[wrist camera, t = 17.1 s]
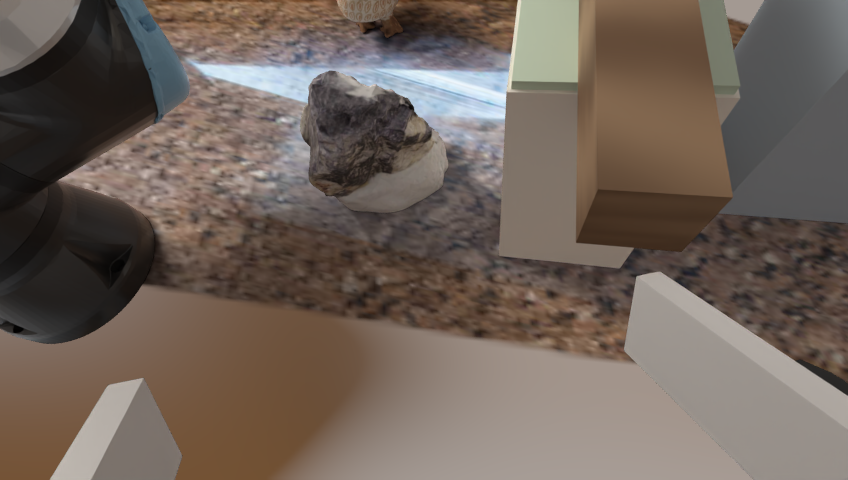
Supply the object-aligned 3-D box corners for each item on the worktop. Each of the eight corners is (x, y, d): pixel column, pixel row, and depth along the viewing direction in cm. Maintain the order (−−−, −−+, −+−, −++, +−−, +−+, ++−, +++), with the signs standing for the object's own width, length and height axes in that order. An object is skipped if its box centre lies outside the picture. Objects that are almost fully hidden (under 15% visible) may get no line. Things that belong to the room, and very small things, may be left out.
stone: (444, 131, 46) (475, 72, 31) (439, 220, 46) (468, 204, 31) (316, 120, 45) (285, 53, 30) (310, 212, 44) (275, 191, 30)
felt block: (619, 268, 35) (746, 89, 18) (498, 255, 37) (507, 84, 20) (615, 91, 43) (698, -146, 26) (517, 89, 45) (534, -133, 28)
